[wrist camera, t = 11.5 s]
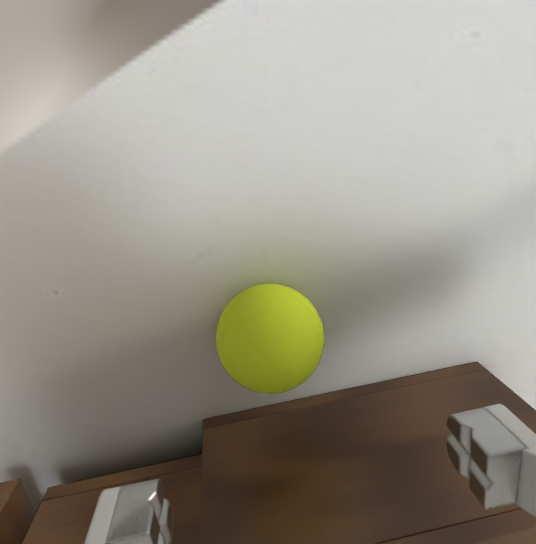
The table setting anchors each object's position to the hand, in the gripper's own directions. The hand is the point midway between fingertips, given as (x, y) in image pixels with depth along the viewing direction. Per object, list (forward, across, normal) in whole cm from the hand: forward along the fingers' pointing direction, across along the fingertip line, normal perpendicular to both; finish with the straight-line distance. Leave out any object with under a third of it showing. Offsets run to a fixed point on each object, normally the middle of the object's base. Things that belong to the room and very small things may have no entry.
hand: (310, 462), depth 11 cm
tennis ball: (+8, 0, 0) cm, 8 cm away
